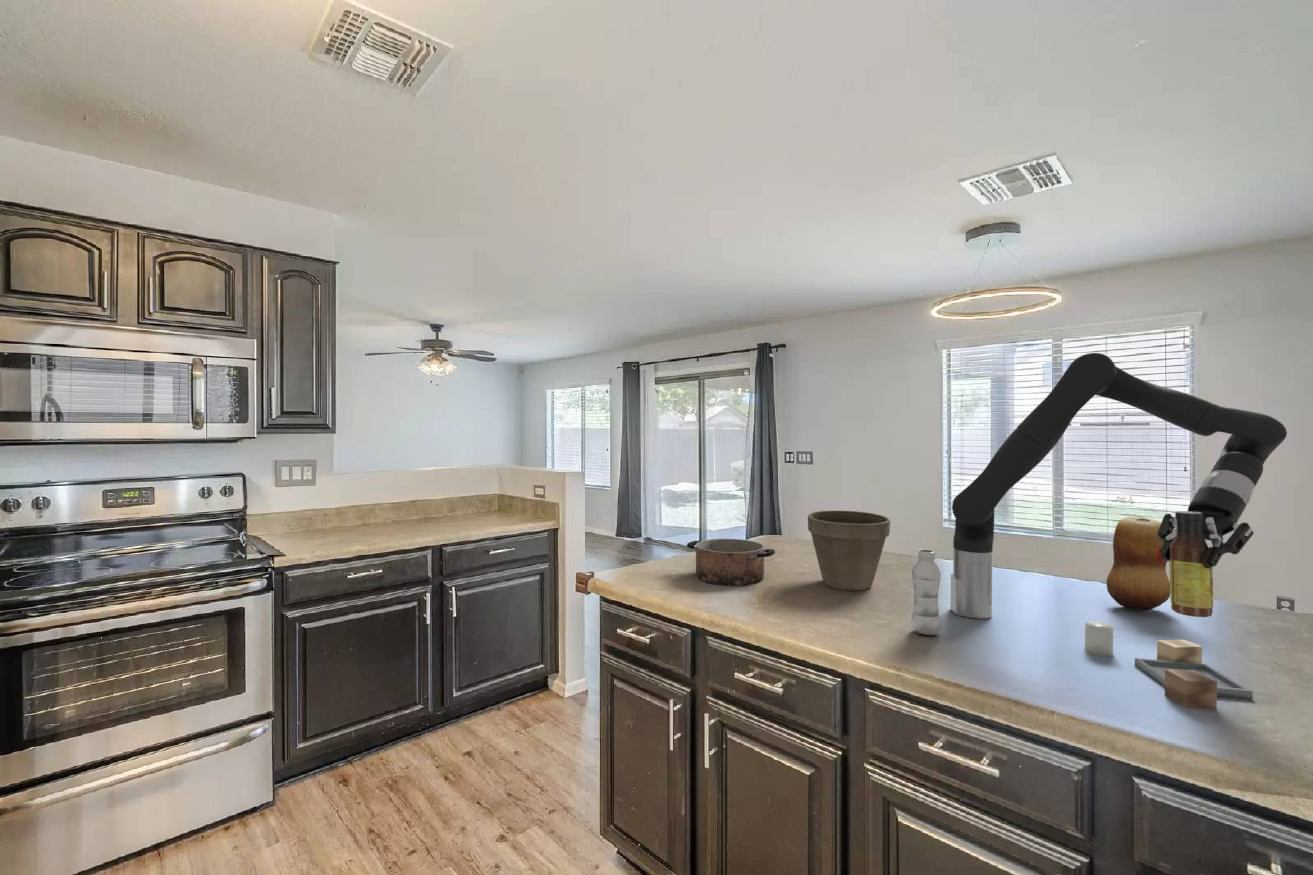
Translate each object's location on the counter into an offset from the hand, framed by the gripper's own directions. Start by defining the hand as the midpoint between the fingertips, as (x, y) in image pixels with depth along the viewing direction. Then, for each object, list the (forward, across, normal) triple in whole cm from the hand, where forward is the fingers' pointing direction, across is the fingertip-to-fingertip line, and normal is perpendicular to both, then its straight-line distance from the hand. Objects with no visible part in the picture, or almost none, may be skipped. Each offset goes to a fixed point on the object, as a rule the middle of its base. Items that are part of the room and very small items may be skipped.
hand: (1184, 561), depth 115 cm
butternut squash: (-13, -33, +47) cm, 59 cm away
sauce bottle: (+6, 0, +9) cm, 11 cm away
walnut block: (+23, +5, +11) cm, 26 cm away
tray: (+16, 0, +18) cm, 24 cm away
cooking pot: (+49, -102, -18) cm, 114 cm away
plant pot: (+28, -81, +4) cm, 86 cm away
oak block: (+10, -6, +24) cm, 26 cm away
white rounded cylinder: (+16, -16, +17) cm, 29 cm away
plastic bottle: (+35, -38, -3) cm, 52 cm away
